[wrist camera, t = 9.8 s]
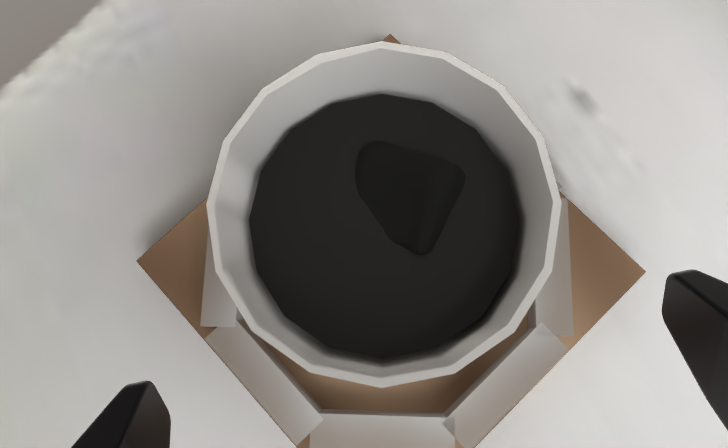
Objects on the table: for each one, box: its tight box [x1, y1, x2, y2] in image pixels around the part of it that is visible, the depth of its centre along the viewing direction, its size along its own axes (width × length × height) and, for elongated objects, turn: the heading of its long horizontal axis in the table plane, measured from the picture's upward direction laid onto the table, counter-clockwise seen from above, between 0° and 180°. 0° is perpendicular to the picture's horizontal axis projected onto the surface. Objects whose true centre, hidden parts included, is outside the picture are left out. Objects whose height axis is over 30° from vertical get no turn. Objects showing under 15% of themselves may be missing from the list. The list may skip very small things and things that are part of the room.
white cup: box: [206, 41, 562, 388], centre depth 15 cm, size 7×7×10 cm
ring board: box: [137, 34, 646, 448], centre depth 20 cm, size 13×13×2 cm
